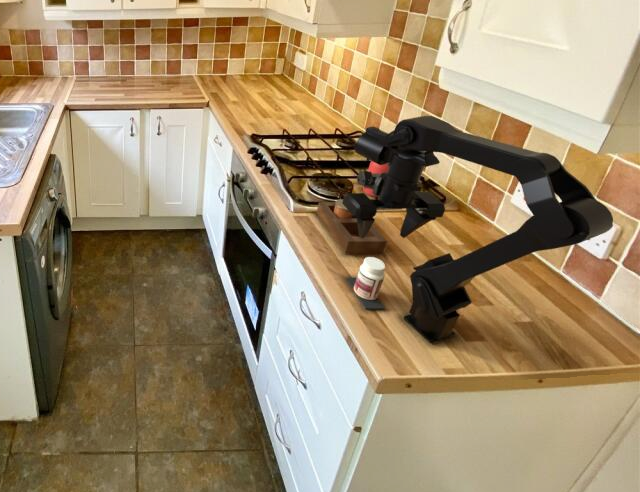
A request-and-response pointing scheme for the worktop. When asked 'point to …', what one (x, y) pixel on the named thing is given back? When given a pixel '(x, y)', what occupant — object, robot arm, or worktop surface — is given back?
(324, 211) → the pod stand
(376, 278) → the pill bottle
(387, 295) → the worktop surface
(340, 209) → the orange brown jar
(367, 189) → the beer can
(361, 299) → the slate mat
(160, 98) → the worktop surface
